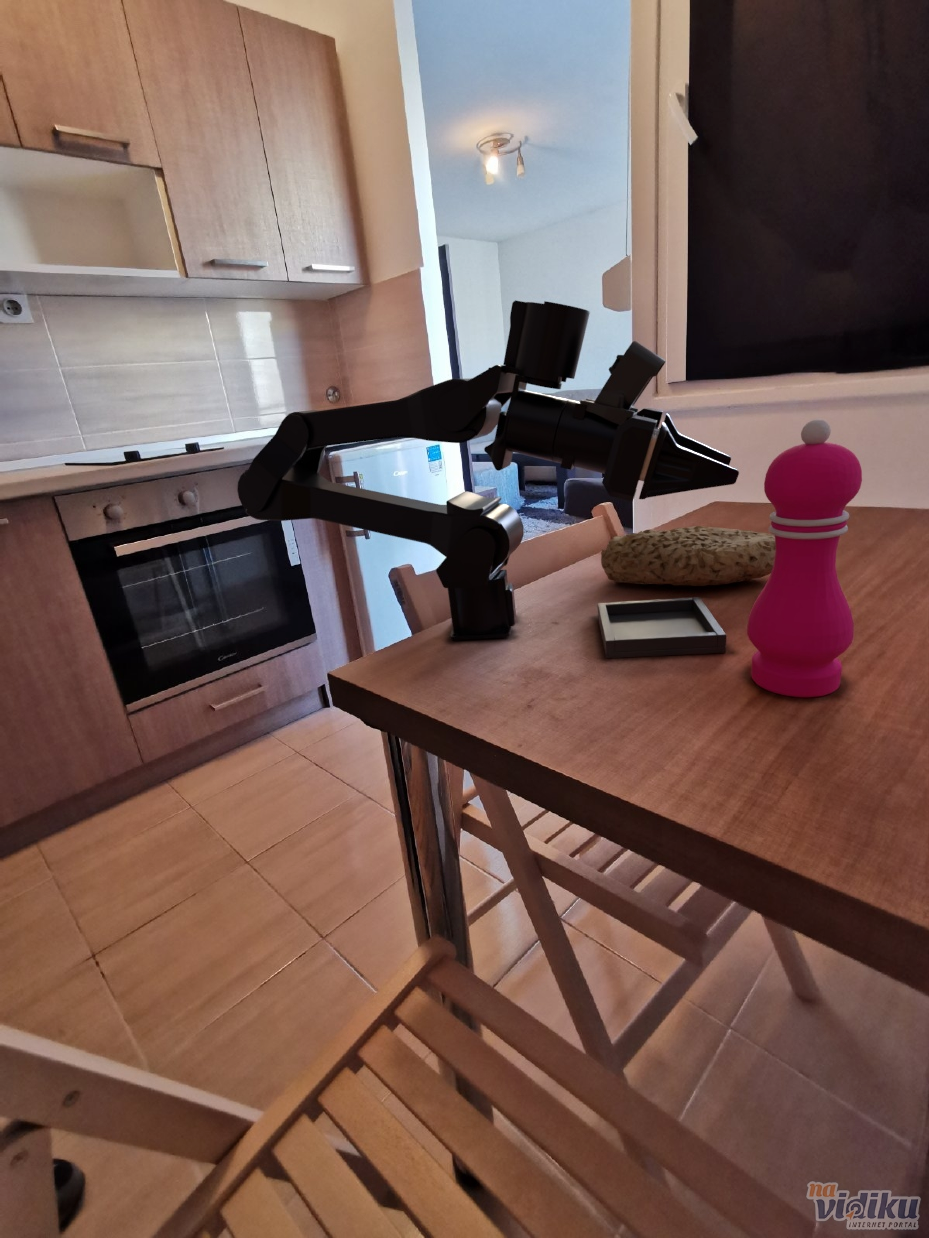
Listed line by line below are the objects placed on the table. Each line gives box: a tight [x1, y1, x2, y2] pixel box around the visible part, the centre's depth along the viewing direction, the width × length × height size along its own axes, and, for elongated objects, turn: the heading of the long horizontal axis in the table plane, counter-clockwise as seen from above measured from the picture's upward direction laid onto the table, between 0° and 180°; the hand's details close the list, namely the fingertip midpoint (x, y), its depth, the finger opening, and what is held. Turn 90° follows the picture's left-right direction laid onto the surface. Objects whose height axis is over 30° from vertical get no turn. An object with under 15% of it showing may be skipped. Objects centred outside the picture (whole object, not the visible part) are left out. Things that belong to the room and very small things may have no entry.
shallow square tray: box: [597, 596, 728, 659], centre depth 59 cm, size 11×11×2 cm
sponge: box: [600, 525, 776, 587], centre depth 71 cm, size 13×8×20 cm
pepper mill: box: [746, 419, 863, 698], centre depth 44 cm, size 7×7×20 cm
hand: (733, 469), depth 52 cm, fingers open, 9 cm apart
